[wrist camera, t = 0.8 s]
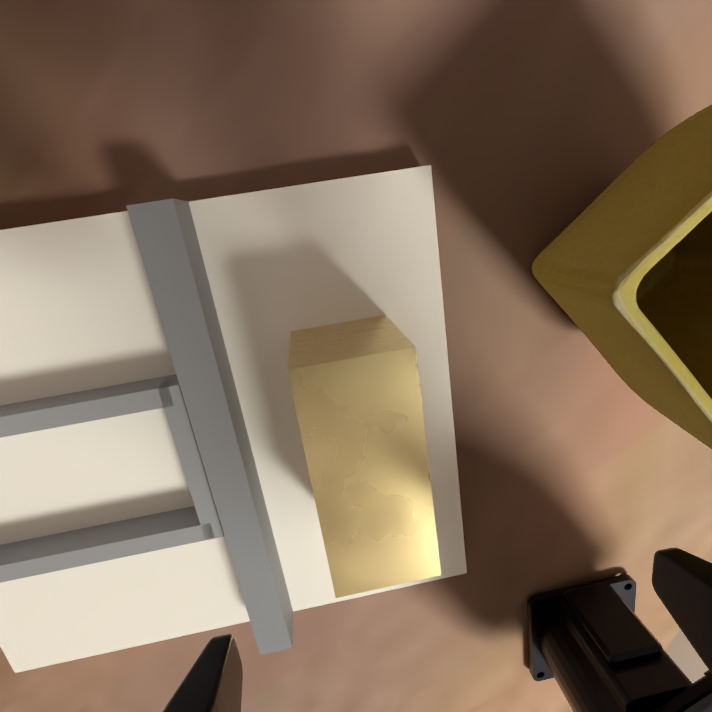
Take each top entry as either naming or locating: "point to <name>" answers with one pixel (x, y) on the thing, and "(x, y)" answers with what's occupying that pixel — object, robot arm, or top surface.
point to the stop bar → (365, 452)
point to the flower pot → (648, 274)
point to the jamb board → (194, 408)
